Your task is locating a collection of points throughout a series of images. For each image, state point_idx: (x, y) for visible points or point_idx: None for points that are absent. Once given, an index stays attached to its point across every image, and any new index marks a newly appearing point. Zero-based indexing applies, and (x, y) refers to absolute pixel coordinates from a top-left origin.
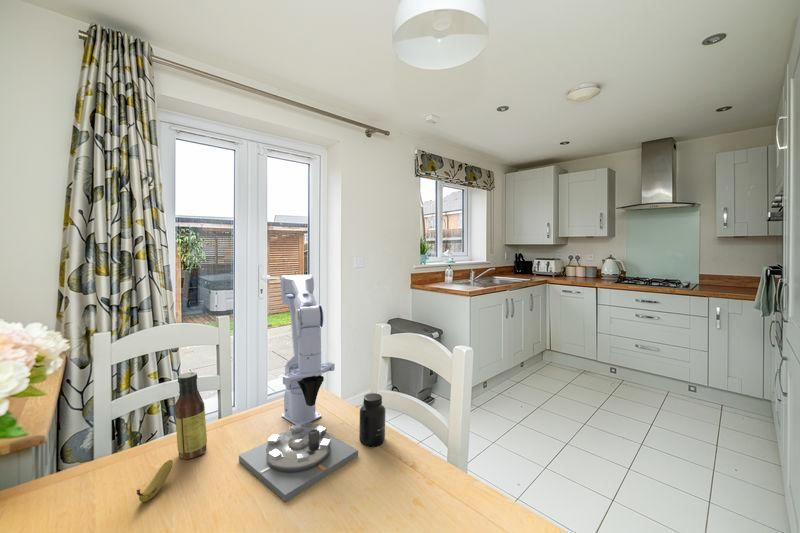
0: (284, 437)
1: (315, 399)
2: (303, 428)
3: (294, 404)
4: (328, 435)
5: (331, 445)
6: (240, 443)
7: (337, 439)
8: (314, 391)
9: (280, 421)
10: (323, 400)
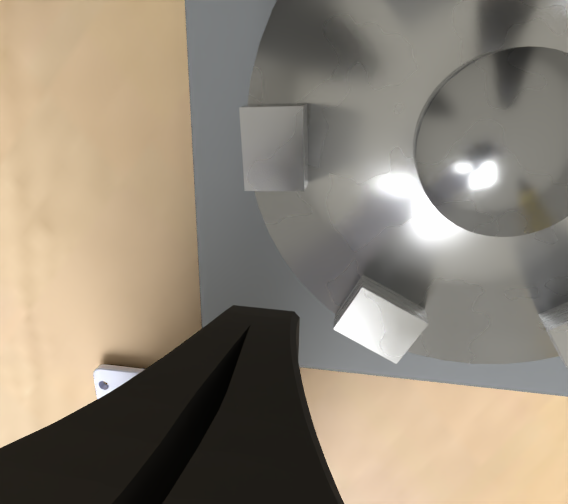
0: (499, 303)
1: (207, 333)
2: (328, 288)
3: None
4: (265, 45)
5: None
6: (553, 498)
7: (197, 38)
8: (179, 433)
9: None
10: None
